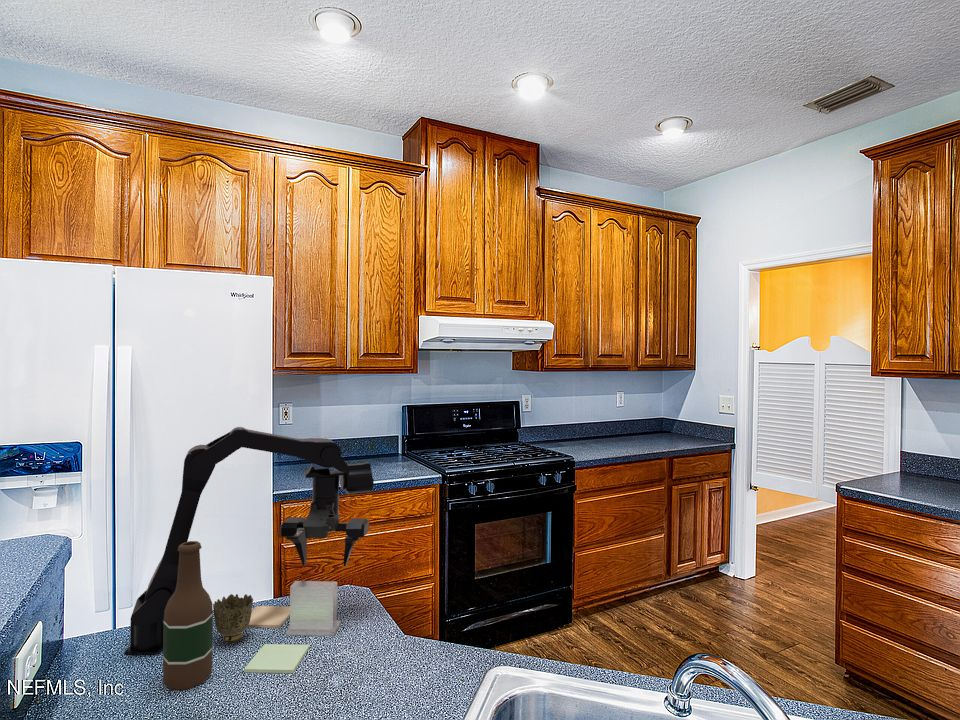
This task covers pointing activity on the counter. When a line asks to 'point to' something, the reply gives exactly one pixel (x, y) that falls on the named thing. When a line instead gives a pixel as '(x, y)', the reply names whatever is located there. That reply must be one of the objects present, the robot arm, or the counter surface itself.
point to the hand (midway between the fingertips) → (324, 565)
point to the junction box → (313, 608)
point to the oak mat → (269, 616)
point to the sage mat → (277, 658)
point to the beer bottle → (188, 625)
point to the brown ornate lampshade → (232, 616)
